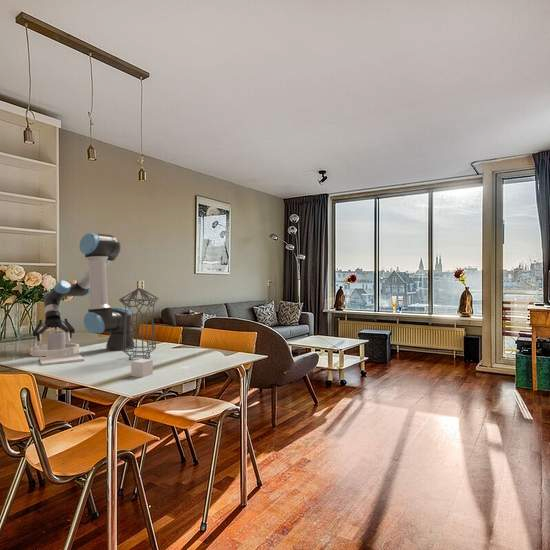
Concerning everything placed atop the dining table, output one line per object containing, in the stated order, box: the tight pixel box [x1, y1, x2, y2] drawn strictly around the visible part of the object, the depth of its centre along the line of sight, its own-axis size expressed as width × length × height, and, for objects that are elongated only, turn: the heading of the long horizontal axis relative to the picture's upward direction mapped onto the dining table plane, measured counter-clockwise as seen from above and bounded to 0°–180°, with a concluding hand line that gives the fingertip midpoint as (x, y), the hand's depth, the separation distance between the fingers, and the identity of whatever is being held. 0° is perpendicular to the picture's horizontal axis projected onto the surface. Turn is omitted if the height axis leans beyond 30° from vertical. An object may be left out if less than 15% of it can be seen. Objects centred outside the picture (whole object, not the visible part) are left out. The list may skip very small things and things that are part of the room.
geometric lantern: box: [118, 287, 160, 361], centre depth 202 cm, size 16×16×35 cm
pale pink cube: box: [130, 358, 154, 378], centre depth 168 cm, size 6×6×6 cm
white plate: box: [29, 342, 80, 357], centre depth 221 cm, size 23×23×3 cm
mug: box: [47, 330, 66, 350], centre depth 221 cm, size 12×8×11 cm
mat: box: [38, 352, 85, 366], centre depth 200 cm, size 18×18×1 cm
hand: (55, 343), depth 220 cm, fingers open, 13 cm apart
